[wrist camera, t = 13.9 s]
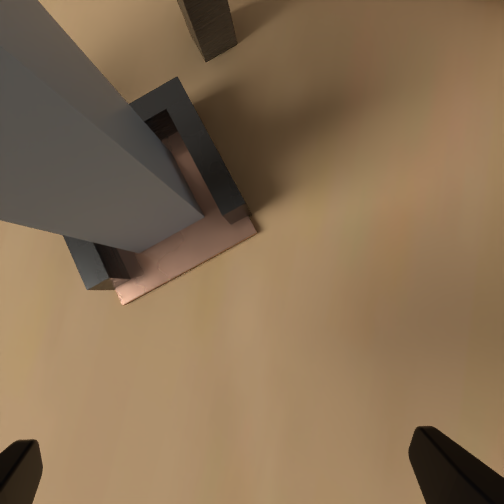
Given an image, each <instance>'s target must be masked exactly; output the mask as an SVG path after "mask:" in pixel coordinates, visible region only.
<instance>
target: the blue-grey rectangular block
mask: <svg viewBox="0 0 504 504" xmlns="http://www.w3.org/2000/svg"><path fill="white" fill-rule="evenodd" d="M204 217H205V216H204V214H203V213H202V211H201V209H200V207H199V205H198V203H197V201H196V199H195V197H194V195H193V193H192V191H191V189H190V187H189V185H188V183H187V182H186V180H185V178H184V176H183V174H182V172H181V170H180V168H179V166H178V164H177V162H176V160H175V158H174V156H173V154H172V153H171V152H170V151H169V150H168V148H167V147H166V146H165V145H164V144H163V143H162V142H161V140H160V139H159V138H158V137H157V136H156V135H155V134H154V132H153V131H152V130H151V129H150V128H149V127H148V126H147V124H146V123H145V122H144V121H143V120H142V119H141V118H140V116H139V115H138V114H137V113H136V112H135V111H134V110H133V108H132V107H131V106H130V105H129V104H128V103H127V102H126V101H125V99H124V98H123V97H122V96H121V95H120V94H119V93H118V91H117V90H116V89H115V88H114V87H113V86H112V85H111V83H110V82H109V81H108V80H107V79H106V78H105V77H104V75H103V74H102V73H101V72H100V71H99V70H98V69H97V67H96V66H95V65H94V64H93V63H92V62H91V61H90V59H89V58H88V57H87V56H86V55H85V54H84V53H83V51H82V50H81V49H80V48H79V47H78V46H77V45H76V44H75V42H74V41H73V40H72V39H71V38H70V37H69V36H68V34H67V33H66V32H65V31H64V30H63V29H62V28H61V26H60V25H59V24H58V23H57V22H56V21H55V20H54V18H53V17H52V16H51V15H50V14H49V13H48V12H47V10H46V9H45V8H44V7H43V6H42V5H41V4H40V2H39V1H38V0H0V220H2V221H6V222H10V223H14V224H18V225H22V226H27V227H31V228H35V229H39V230H43V231H48V232H52V233H56V234H60V235H64V236H68V237H73V238H77V239H81V240H85V241H89V242H94V243H98V244H102V245H106V246H110V247H115V248H119V249H123V250H127V251H131V252H135V253H140V252H142V251H144V250H146V249H148V248H150V247H151V246H153V245H155V244H157V243H159V242H160V241H162V240H164V239H166V238H168V237H170V236H171V235H173V234H175V233H177V232H179V231H180V230H182V229H184V228H186V227H188V226H190V225H191V224H193V223H195V222H197V221H199V220H200V219H202V218H204Z"/></svg>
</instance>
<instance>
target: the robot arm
mask: <svg viewBox="0 0 504 504" xmlns="http://www.w3.org/2000/svg"><path fill="white" fill-rule="evenodd" d="M408 453H409V459H410V462H411V465H412V467H413V470H414V473H415V475H416V478H417V481H418V483H419V486H420V489H421V491H422V494H423V496H424V499H425V502H426V504H504V478H503V477H502V476H500V475H499V474H498V473H496V472H495V471H494V470H492V469H491V468H490V467H488V466H487V465H486V464H484V463H483V462H481V461H480V460H479V459H477V458H476V457H475V456H473V455H472V454H471V453H469V452H468V451H466V450H465V449H464V448H462V447H461V446H460V445H458V444H457V443H456V442H454V441H453V440H451V439H450V438H449V437H447V436H446V435H445V434H443V433H442V432H441V431H439V430H438V429H436V428H435V427H432V426H419V427H417V428H416V429H415V431H414V434H413V437H412V440H411V443H410V446H409V452H408ZM42 470H43V464H42V459H41V453H40V448H39V443H38V441H37V440H34V439H30V440H17V441H15V442H13V443H12V444H11V445H10V446H8V447H7V448H6V449H5V450H4V451H2V452H1V453H0V504H32V503H33V500H34V497H35V494H36V491H37V488H38V485H39V482H40V479H41V476H42Z"/></svg>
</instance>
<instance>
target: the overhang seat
mask: <svg viewBox="0 0 504 504" xmlns="http://www.w3.org/2000/svg"><path fill="white" fill-rule="evenodd" d="M177 1H178V4H179V7H180V9H181V12H182V14H183V17H184V19H185V22H186V24H187V27H188V29H189V32H190V34H191V36H192V38H193V40H194V41H195V43H196V45H197V47H198V49H199V50H200V52H201V54H202V56H203V58H204V59H205V61H206V62H207V61H208V60H210V59H212V58H214V57H215V56H217V55H219V54H221V53H222V52H224V51H226V50H228V49H229V48H231V47H233V46H235V45H236V44H237V41H236V36H235V32H234V27H233V23H232V18H231V14H230V9H229V4H228V0H177ZM129 105H130V106H131V107H132V108H133V110H134V111H135V112H136V113H137V114H138V115H139V116H140V118H141V119H142V120H143V121H144V122H145V123H146V124H147V126H148V127H149V128H150V129H151V130H152V131H153V132H154V134H155V135H156V136H157V137H158V138H159V139H160V140H161V142H162V143H163V144H164V145H165V146H166V147H167V148H168V150H169V151H170V152H171V153H172V154H173V156H174V158H175V160H176V162H177V164H178V166H179V168H180V170H181V172H182V174H183V176H184V178H185V180H186V182H187V183H188V185H189V187H190V189H191V191H192V193H193V195H194V197H195V199H196V201H197V203H198V205H199V207H200V209H201V211H202V213H203V214H204V216H205V217H204V218H202V219H200V220H199V221H197V222H195V223H193V224H191V225H190V226H188V227H186V228H184V229H182V230H180V231H179V232H177V233H175V234H173V235H171V236H170V237H168V238H166V239H164V240H162V241H160V242H159V243H157V244H155V245H153V246H151V247H150V248H148V249H146V250H144V251H142V252H140V253H135V252H131V251H127V250H123V249H119V248H115V247H110V246H106V245H102V244H98V243H94V242H89V241H85V240H81V239H77V238H73V237H68V236H64V235H63V237H64V239H65V241H66V244H67V246H68V248H69V250H70V253H71V255H72V257H73V259H74V262H75V264H76V266H77V269H78V271H79V273H80V275H81V278H82V280H83V282H84V285H85V287H86V289H87V290H116V292H117V295H118V297H119V299H120V301H121V303H122V305H126V304H128V303H130V302H131V301H133V300H135V299H137V298H139V297H141V296H143V295H144V294H146V293H148V292H150V291H152V290H154V289H155V288H157V287H159V286H161V285H163V284H165V283H167V282H168V281H170V280H172V279H174V278H176V277H178V276H180V275H181V274H183V273H185V272H187V271H189V270H191V269H192V268H194V267H196V266H198V265H200V264H202V263H204V262H205V261H207V260H209V259H211V258H213V257H215V256H216V255H218V254H220V253H222V252H224V251H226V250H228V249H229V248H231V247H233V246H235V245H237V244H239V243H241V242H242V241H244V240H246V239H248V238H250V237H252V236H253V235H255V234H257V232H256V230H255V228H254V226H253V224H252V222H251V220H250V219H249V216H251V215H252V214H251V212H250V210H249V208H248V207H247V205H246V203H245V201H244V199H243V197H242V195H241V194H240V192H239V190H238V188H237V186H236V184H235V182H234V181H233V179H232V177H231V175H230V173H229V171H228V169H227V168H226V166H225V164H224V162H223V160H222V158H221V156H220V155H219V153H218V151H217V149H216V147H215V145H214V143H213V142H212V140H211V138H210V136H209V134H208V132H207V130H206V129H205V127H204V125H203V123H202V121H201V119H200V118H199V116H198V114H197V112H196V110H195V108H194V106H193V105H192V103H191V101H190V99H189V97H188V95H187V93H186V92H185V90H184V88H183V86H182V84H181V82H180V80H179V79H178V77H175V78H173V79H172V80H170V81H168V82H166V83H165V84H163V85H161V86H159V87H158V88H156V89H154V90H153V91H151V92H149V93H147V94H146V95H144V96H142V97H140V98H139V99H137V100H135V101H133V102H132V103H130V104H129Z"/></svg>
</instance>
